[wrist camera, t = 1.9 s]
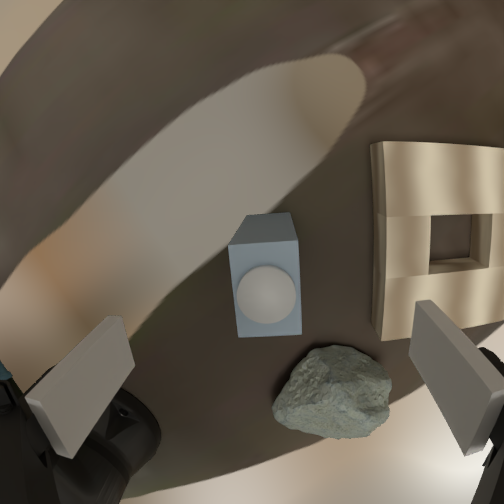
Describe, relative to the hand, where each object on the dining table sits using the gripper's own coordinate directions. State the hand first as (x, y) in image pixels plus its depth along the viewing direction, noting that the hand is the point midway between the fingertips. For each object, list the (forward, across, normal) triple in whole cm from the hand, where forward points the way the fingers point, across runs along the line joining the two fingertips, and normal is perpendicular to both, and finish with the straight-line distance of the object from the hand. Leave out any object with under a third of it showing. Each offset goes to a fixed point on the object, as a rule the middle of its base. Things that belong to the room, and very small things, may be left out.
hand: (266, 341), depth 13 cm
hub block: (+18, +18, 0) cm, 25 cm away
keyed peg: (+18, 0, 0) cm, 18 cm away
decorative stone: (+18, +5, -16) cm, 25 cm away
